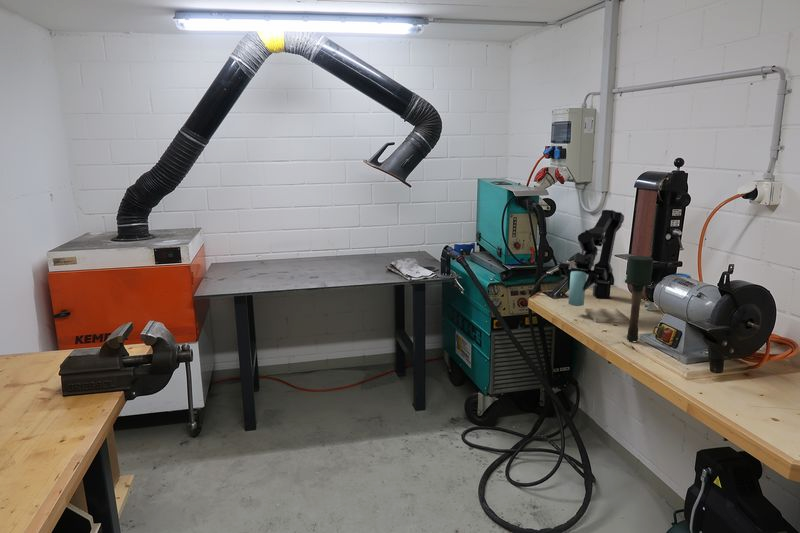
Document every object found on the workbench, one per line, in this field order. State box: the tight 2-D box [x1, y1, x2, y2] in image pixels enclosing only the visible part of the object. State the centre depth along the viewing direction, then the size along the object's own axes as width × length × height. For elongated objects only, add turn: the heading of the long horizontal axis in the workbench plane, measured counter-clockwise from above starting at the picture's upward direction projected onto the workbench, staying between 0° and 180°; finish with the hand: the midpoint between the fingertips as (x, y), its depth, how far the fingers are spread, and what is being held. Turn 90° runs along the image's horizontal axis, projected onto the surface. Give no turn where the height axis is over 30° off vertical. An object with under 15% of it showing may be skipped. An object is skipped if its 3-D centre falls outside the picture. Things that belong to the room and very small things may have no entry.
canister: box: [568, 271, 587, 307], centre depth 215 cm, size 6×6×13 cm
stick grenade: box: [624, 255, 654, 342], centre depth 185 cm, size 8×9×30 cm
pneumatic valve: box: [641, 298, 658, 312], centre depth 222 cm, size 6×12×12 cm, turn 105°
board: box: [584, 308, 630, 323], centre depth 214 cm, size 13×13×2 cm
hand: (576, 288), depth 214 cm, fingers closed on canister, 6 cm apart
